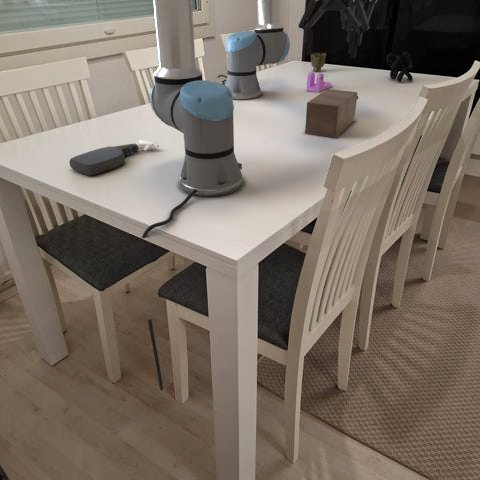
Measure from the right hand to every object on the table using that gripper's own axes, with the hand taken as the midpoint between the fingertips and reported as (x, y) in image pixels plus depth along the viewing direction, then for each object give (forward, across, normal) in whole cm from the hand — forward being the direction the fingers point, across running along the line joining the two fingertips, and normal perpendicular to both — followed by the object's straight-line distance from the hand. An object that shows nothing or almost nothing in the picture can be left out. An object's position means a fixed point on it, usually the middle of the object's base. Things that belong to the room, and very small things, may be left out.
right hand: (351, 53), depth 147 cm
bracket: (+20, +21, -32) cm, 43 cm away
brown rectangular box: (+20, 0, +16) cm, 26 cm away
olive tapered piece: (+20, +34, -64) cm, 76 cm away
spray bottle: (+20, +44, +69) cm, 84 cm away
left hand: (-2, 0, +21) cm, 21 cm away
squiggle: (+20, -6, -61) cm, 65 cm away
